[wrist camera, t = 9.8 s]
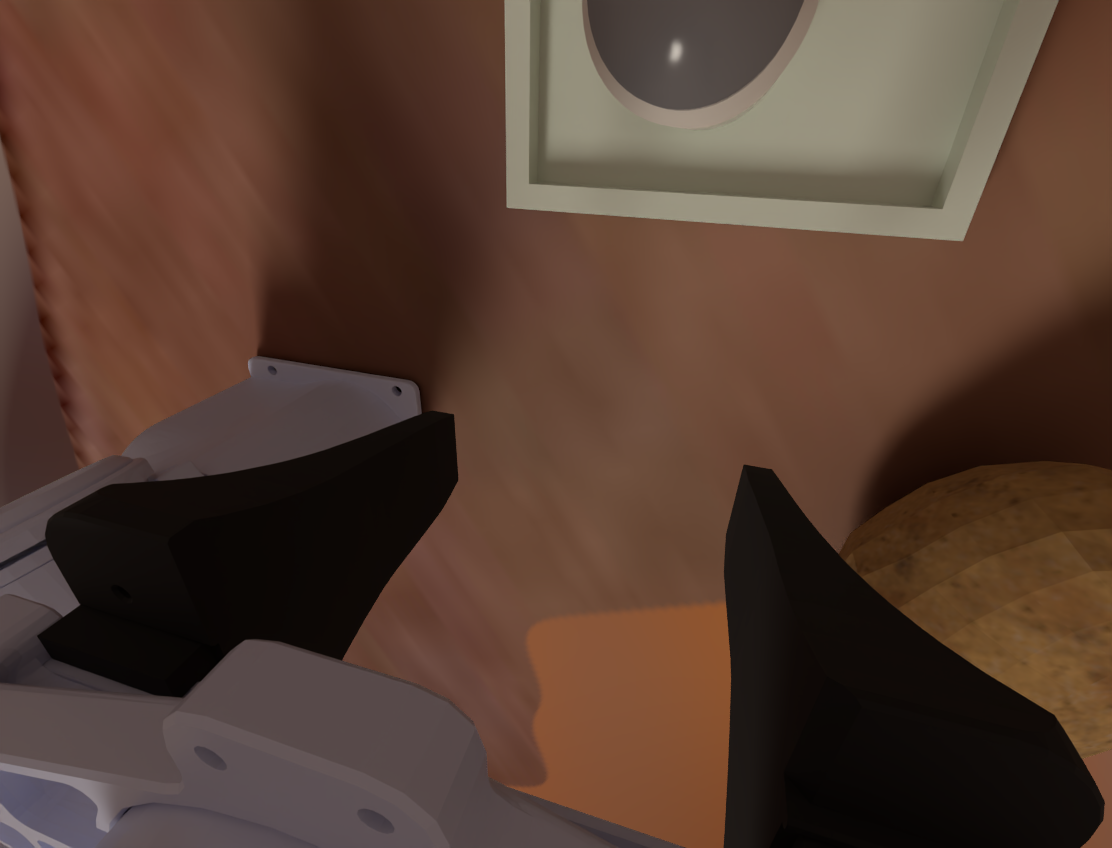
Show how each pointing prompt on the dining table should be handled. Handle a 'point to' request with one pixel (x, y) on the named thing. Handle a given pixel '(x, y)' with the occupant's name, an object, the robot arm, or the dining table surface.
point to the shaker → (693, 54)
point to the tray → (784, 123)
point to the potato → (1009, 580)
